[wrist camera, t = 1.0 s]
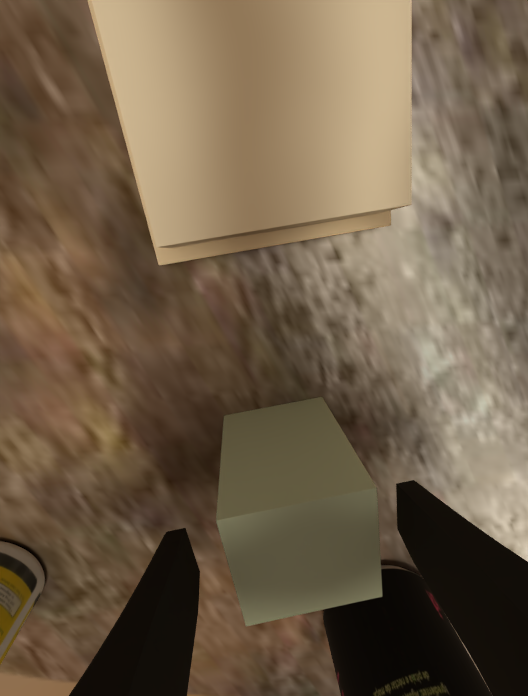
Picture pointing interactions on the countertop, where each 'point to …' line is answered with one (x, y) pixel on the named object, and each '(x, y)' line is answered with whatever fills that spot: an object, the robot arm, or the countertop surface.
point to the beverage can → (399, 644)
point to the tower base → (243, 242)
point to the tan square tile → (262, 111)
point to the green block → (296, 513)
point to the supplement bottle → (17, 591)
